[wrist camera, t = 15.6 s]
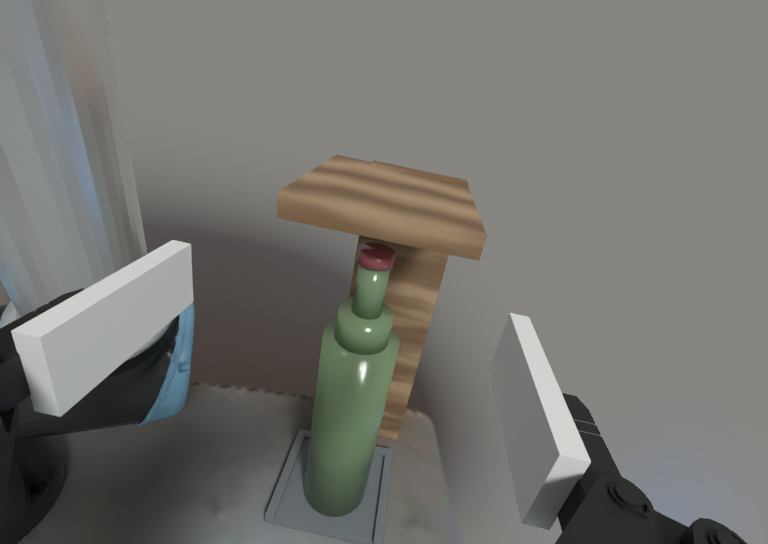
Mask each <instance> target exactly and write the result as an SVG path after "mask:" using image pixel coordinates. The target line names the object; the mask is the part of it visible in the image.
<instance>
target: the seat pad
mask: <svg viewBox="0 0 768 544" xmlns="http://www.w3.org/2000/svg"><path fill="white" fill-rule="evenodd" d="M309 439H310V430H305V429H301V428H300V429H299V431H298V434H297V436H296V439H295V441H294V444H293V446H292V449H291V451H290V454H289V456H288V459H287V461H286V464H285V466H284V469H283V471H282V474H281V476H280V479H279V481H278V484H277V486H276V489H275V491H274V494H273V496H272V499H271V501H270V504H269V506H268V509H267V511H266V514H265V519H264V521H265V522H269V523H273V524H277V525H282V526H286V527H290V528H294V529H299V530H303V531H307V532H311V533H316V534H320V535H324V536H328V537H333V538H337V539H341V540H345V541H350V542H354V543H358V544H383V537H384V528H385V519H386V510H387V501H388V492H389V483H390V474H391V465H392V456H393V449H389V448H384V447H380V446H376V447H375V451H374V456H373V460H372V464H371V468H370V473H369V477H368V481H367V485H366V489H365V494H364V497H363V500H362V502H361V503H360V505H359V506H358V507H357V508H356V509H355V510H354V511H352V512H351V513H349V514H347V515H344V516H340V517H329V516H325V515H322V514H320V513H318V512H316V511H315V510H314V509H313V508H312V507H311V506H310V505H309V504H308V502H307V500H306V498H305V495H304V478H305V471H306V463H307V455H308V447H309Z"/></svg>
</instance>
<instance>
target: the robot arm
mask: <svg viewBox="0 0 768 544" xmlns="http://www.w3.org/2000/svg"><path fill="white" fill-rule="evenodd" d="M191 258H192V257H191V244H189V243H184V242H180V241H175V240H172V241H170V242H169V243H167V244H165V245H163V246H161V247H159V248H158V249H156V250H154V251H153V252H151V253H149V254H147V249H146V243H145V238H144V231H143V225H142V219H141V213H140V208H139V201H138V195H137V189H136V183H135V178H134V171H133V165H132V160H131V154H130V147H129V141H128V135H127V129H126V123H125V117H124V111H123V105H122V99H121V93H120V87H119V81H118V75H117V69H116V63H115V57H114V50H113V44H112V39H111V33H110V27H109V20H108V15H107V8H106V2H105V0H0V280H1V281H2V283H3V285H4V287H5V289H6V291H7V293H8V295H9V297H10V299H11V301H10V303H9V304H8V305H0V544H16V543H17V542H19V541H20V540H21V539H22V538H23V537H25V536H26V535H27V534H28V533H29V532H30V531H31V530H32V529H33V528H34V527H35V526H36V525H37V524H38V523H39V522H40V521H41V520H42V518H43V517H44V516H45V515H46V514H47V512H48V511H49V510H50V508H51V507H52V505H53V504H54V502H55V501H56V499H57V497H58V495H59V493H60V490H61V488H62V485H63V481H64V473H65V471H64V464H63V461H62V457H61V453H60V451H59V448H58V447H57V445H56V444H55V442H54V441H53V440H52V439H51V438H50V437H49V436H52V435H59V434H66V433H73V432H80V431H87V430H94V429H102V428H109V427H116V426H123V425H130V424H134V425H144V424H146V423H147V422H150V421H155V420H160V419H166V418H170V417H173V416H175V415H176V414H178V413H179V412H180V411H181V410H182V409H183V407H184V405H185V403H186V400H187V394H188V388H189V380H190V368H191V367H190V363H191V357H192V350H193V338H194V318H195V317H194V316H195V309H194V304H193V281H192V259H191ZM489 369H490V373H491V378H492V383H493V388H494V393H495V398H496V402H497V407H498V412H499V417H500V421H501V427H502V431H503V436H504V441H505V446H506V451H507V455H508V460H509V465H510V470H511V475H512V479H513V484H514V489H515V494H516V499H517V504H518V508H519V513H520V518H521V523H522V524H527V525H531V526H535V527H539V528H544V529H548V530H549V529H550V528H551V526H552V525H553V523H554V522H555V520H556V518H557V517H558V518H559V522H560V525H561V529H562V534H561V536H560V537H559V539H558V540H557V542H556V543H555V544H747V543H746V542H745V541H744V540H742V539H741V538H740V537H739V536H738V535H737V534H736V533H734V532H733V531H731V530H730V529H728V528H727V527H725V526H724V525H722V524H720V523H718V522H715V521H713V520H710V519H704V518H699V519H698V520H696V521H694V522H693V523H692V524H691V526H690V527H687V526H684V525H683V524H681V523H679V522H677V521H675V520H672V519H670V518H668V517H666V516H664V515H662V514H660V513H658V512H656V511H655V510H654V509H653V506H652V504H651V502H650V501H649V499H648V498H647V497H646V495H645V494H644V493H643V492H642V491H641V490H640V489H639V488H637V487H636V486H635V485H634V484H633V483H631V482H630V481H628V480H626V479H625V478H623V477H621V475H620V473H619V471H618V469H617V467H616V465H615V463H614V461H613V459H612V457H611V454H610V452H609V450H608V448H607V446H606V444H605V442H604V440H603V438H602V437H600V432H599V430H598V428H597V426H595V422H594V420H593V418H592V416H591V414H590V412H589V410H588V409H587V408H586V406H585V405H584V404H583V403H582V402H581V401H580V400H579V399H578V398H577V397H576V396H572V395H568V394H563V393H561V390H560V388H559V386H558V384H557V381H556V379H555V377H554V374H553V372H552V370H551V367H550V365H549V363H548V360H547V358H546V356H545V353H544V351H543V349H542V347H541V344H540V342H539V339H538V337H537V335H536V332H535V330H534V328H533V326H532V323H531V321H530V319H529V317H526V316H521V315H516V314H513V313H510V314H509V316H508V319H507V322H506V324H505V327H504V329H503V332H502V335H501V337H500V340H499V343H498V345H497V348H496V350H495V353H494V355H493V358H492V361H491V363H490V366H489Z"/></svg>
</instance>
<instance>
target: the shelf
mask: <svg viewBox="0 0 768 544" xmlns="http://www.w3.org/2000/svg"><path fill="white" fill-rule="evenodd" d="M277 218H282V219H286V220H290V221H295V222H300V223H305V224H309V225H314V226H318V227H323V228H328V229H333V230H337V231H342V232H347V233H352V234H356V235H359V240H358V246H357V252H356V258H355V264H354V270H353V276H352V283H351V289H350V295H349V298H351V297H353V296H354V290H355V284H356V278H357V272H358V265H359V263H358V262H357V257H358V251H359V246H360V245H361V244H363V243H369V242H373V243H380V244H384V245H387V246H389V247H391V248H393V249H394V250H395V251H396V256H395V261H394V266H393V268H392V269H390V274H389V279H388V284H387V289H386V294H385V299H384V303H385V304H387V305H388V306H389V307H390V308H391V309H392V310H393V312H394V320H393V324H392V329H393V330H394V332H395V333H396V334H397V336H398V338H399V342H400V346H399V350H398V354H397V359H396V363H395V367H394V371H393V376H392V380H391V384H390V388H389V392H388V397H387V401H386V405H385V409H384V414H383V418H382V422H381V426H380V430H379V435H378V436H380V437H384V438H388V439H393V440H397V439H398V435H399V431H400V428H401V424H402V421H403V417H404V413H405V410H406V406H407V403H408V399H409V395H410V392H411V388H412V385H413V381H414V377H415V374H416V370H417V366H418V363H419V360H420V356H421V352H422V348H423V345H424V341H425V338H426V334H427V331H428V327H429V324H430V320H431V316H432V313H433V309H434V306H435V302H436V299H437V295H438V291H439V288H440V284H441V281H442V277H443V273H444V269H445V265H446V263H447V259H448V255H449V254H450V255H455V256H460V257H464V258H469V259H473V260H478V261H479V259H480V256H481V252H482V250H483V246H484V243H485V240H486V237H487V235H486V232H485V230H484V227H483V224H482V222H481V219H480V217H479V214H478V212H477V209H476V206H475V204H474V201H473V198H472V196H471V193H470V191H469V188H468V182H467V180H464V179H459V178H454V177H449V176H445V175H440V174H435V173H430V172H426V171H420V170H416V169H411V168H406V167H401V166H396V165H392V164H387V163H382V162H377V161H373V162H367V161H363V160H358V159H353V158H349V157H344V156H338V155H336V156H334V157H332V158H331V159H329V160H328V161H326V162H325V163H323V164H321V165H320V166H318V167H317V168H315V169H314V170H312V171H310V172H309V173H307V174H306V175H304V176H302V177H301V178H299V179H298V180H296V181H294V182H293V183H291V184H290V185H288V186H287V187H285V188H283V189H282V190H280V191H279V192H278V202H277Z"/></svg>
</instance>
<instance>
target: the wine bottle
mask: <svg viewBox="0 0 768 544" xmlns="http://www.w3.org/2000/svg"><path fill="white" fill-rule="evenodd" d="M395 256H396V251H395V250H394V249H393V248H391V247H389V246H387V245H384V244H380V243H373V242H369V243H363V244H361V245H360V246H359V251H358V257H357V262H358V263H359V265H358V272H357V278H356V284H355V290H354V296H353V297H351V298H348V299H345V300H343V301H342V302H341V303H340V305H339V307H338V314H337V319H336V320H333V321H332V322H330V323H329V324H328V325H327V326H326V327H325V329H324V331H323V337H322V345H321V353H320V361H319V369H318V377H317V384H316V393H315V400H314V408H313V416H312V423H311V431H310V439H309V447H308V455H307V463H306V471H305V478H304V495H305V498H306V500H307V502H308V504H309V505H310V506H311V507H312V508H313V509H314V510H315V511H316V512H318V513H320V514H322V515H325V516H329V517H340V516H344V515H347V514H349V513H351V512H352V511H354V510H355V509H356V508H357V507H358V506H359V505H360V503H361V502H362V500H363V497H364V494H365V489H366V485H367V481H368V477H369V473H370V468H371V464H372V460H373V456H374V451H375V447H376V443H377V439H378V435H379V430H380V426H381V422H382V418H383V414H384V409H385V405H386V401H387V397H388V392H389V388H390V384H391V380H392V376H393V371H394V367H395V363H396V359H397V354H398V350H399V346H400V342H399V338H398V336H397V334H396V333H395V332H394V330H393V329H392V324H393V320H394V312H393V310H392V309H391V308H390V307H389V306H388V305H387V304H385V303H384V299H385V294H386V289H387V284H388V279H389V274H390V269H392V268H393V266H394V261H395Z"/></svg>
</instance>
